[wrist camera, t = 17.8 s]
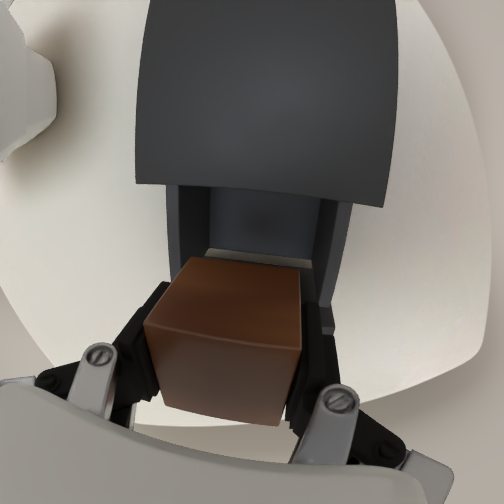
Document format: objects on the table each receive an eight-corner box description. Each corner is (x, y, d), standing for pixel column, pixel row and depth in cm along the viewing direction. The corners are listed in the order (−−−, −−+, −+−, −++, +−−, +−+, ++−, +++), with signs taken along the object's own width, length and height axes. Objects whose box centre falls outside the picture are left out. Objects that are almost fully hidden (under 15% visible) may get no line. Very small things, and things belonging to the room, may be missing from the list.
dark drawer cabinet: (345, 177, 21) (383, 208, 12) (193, 162, 22) (135, 184, 13) (356, 18, 14) (390, -36, 6) (206, 9, 15) (161, -44, 7)
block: (299, 269, 11) (302, 349, 7) (284, 349, 13) (278, 427, 9) (190, 255, 11) (141, 322, 7) (195, 335, 13) (164, 406, 9)
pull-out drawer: (310, 328, 26) (313, 390, 19) (199, 314, 27) (173, 369, 20) (346, 125, 18) (378, 121, 11) (199, 113, 19) (153, 105, 12)
